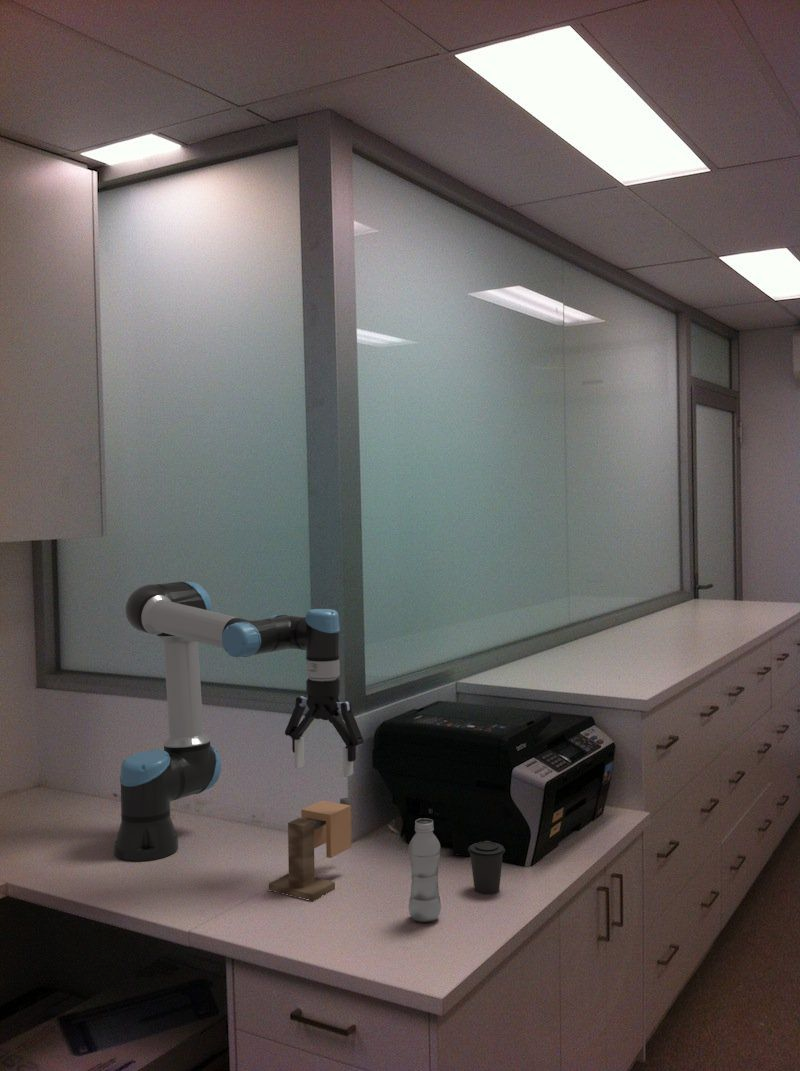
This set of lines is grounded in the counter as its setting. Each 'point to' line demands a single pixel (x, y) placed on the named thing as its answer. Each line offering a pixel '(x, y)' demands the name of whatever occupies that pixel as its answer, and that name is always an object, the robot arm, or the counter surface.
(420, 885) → the plastic bottle
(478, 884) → the coffee cup
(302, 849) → the hook stand
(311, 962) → the counter surface
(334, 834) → the tan square cardboard-colored block
